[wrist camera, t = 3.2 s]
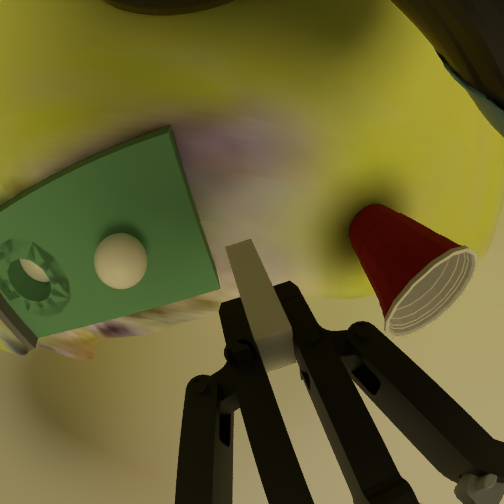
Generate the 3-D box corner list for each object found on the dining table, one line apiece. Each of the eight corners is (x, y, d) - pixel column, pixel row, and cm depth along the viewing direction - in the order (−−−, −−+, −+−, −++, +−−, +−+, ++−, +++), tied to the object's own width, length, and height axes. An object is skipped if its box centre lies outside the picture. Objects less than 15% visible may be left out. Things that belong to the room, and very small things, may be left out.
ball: (91, 232, 19) (78, 264, 15) (137, 215, 19) (130, 245, 16) (113, 272, 21) (106, 306, 18) (156, 258, 21) (154, 292, 18)
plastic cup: (314, 268, 30) (367, 355, 21) (344, 175, 24) (433, 245, 15) (384, 267, 33) (439, 333, 24) (416, 191, 28) (492, 249, 18)
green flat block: (-27, 225, 17) (-48, 250, 13) (170, 125, 19) (167, 136, 15) (38, 320, 25) (28, 349, 22) (215, 268, 27) (223, 300, 23)
